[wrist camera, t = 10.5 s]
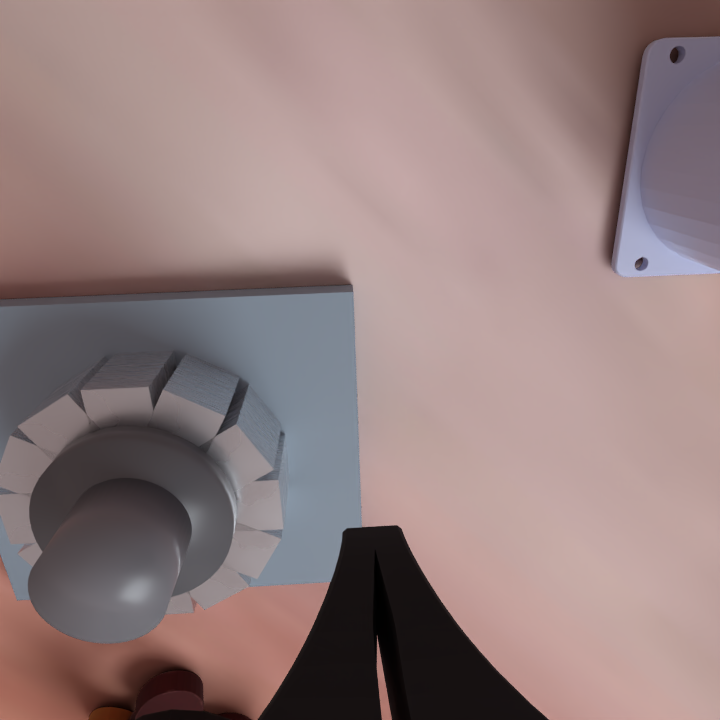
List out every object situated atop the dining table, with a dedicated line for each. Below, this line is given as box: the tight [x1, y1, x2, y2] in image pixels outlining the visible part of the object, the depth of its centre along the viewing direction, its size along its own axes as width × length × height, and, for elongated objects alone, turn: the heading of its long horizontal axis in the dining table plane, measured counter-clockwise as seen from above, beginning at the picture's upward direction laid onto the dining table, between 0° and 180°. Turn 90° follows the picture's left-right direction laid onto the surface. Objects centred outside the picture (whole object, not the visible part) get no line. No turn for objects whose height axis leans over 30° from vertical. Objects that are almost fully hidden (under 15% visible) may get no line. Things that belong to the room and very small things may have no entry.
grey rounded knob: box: [28, 426, 237, 643], centre depth 19 cm, size 7×7×7 cm
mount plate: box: [0, 285, 362, 600], centre depth 23 cm, size 16×14×1 cm
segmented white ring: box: [0, 350, 290, 614], centre depth 21 cm, size 10×10×3 cm
